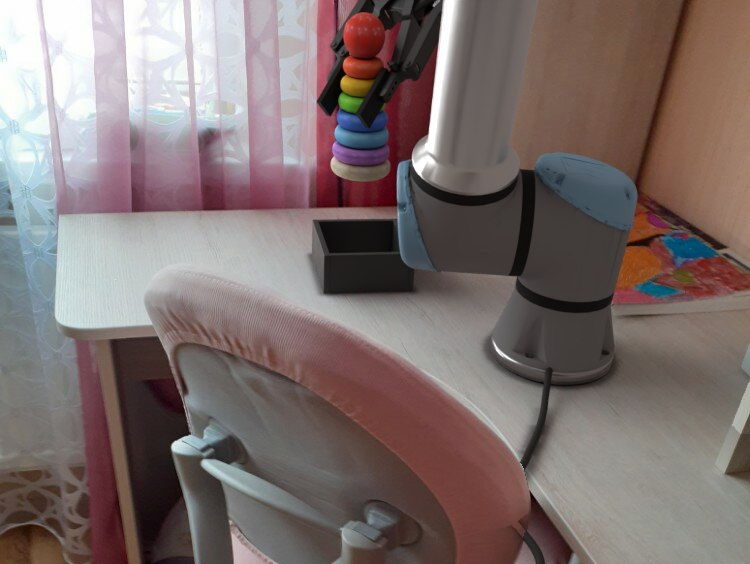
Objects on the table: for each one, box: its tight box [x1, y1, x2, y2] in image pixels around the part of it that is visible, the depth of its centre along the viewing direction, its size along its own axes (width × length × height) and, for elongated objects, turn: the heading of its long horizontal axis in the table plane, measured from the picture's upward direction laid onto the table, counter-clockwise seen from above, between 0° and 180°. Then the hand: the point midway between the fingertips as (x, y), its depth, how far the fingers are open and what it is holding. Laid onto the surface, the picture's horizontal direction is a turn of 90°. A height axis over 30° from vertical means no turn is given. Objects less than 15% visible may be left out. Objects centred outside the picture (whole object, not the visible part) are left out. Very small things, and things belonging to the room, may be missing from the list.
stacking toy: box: [330, 12, 391, 183], centre depth 106 cm, size 8×8×19 cm
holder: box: [311, 218, 416, 295], centre depth 120 cm, size 13×13×6 cm
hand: (343, 114), depth 105 cm, fingers closed on stacking toy, 6 cm apart
